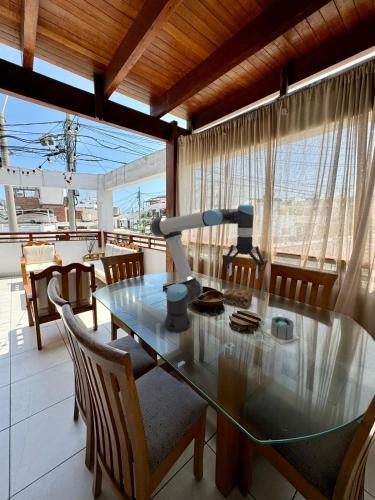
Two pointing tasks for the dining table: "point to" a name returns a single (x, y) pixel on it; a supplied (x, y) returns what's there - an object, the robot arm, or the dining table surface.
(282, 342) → the block
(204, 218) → the robot arm
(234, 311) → the dining table surface
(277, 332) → the ring
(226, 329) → the dining table surface
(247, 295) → the bread
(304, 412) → the dining table surface
